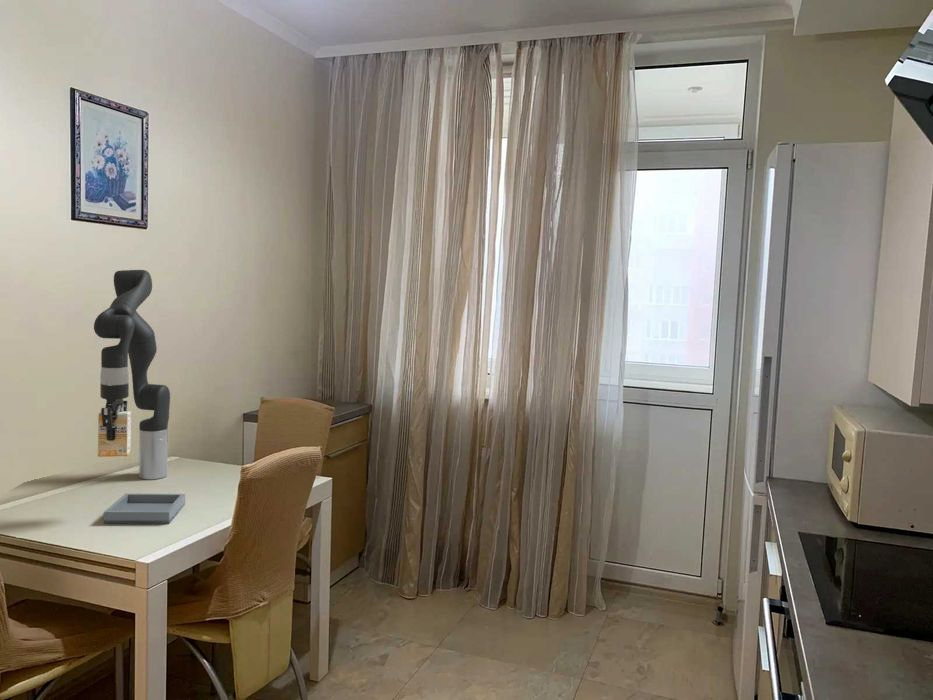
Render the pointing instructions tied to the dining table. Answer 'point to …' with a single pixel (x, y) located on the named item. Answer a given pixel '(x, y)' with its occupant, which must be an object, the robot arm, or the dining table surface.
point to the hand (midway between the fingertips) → (114, 437)
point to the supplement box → (121, 437)
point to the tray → (144, 509)
